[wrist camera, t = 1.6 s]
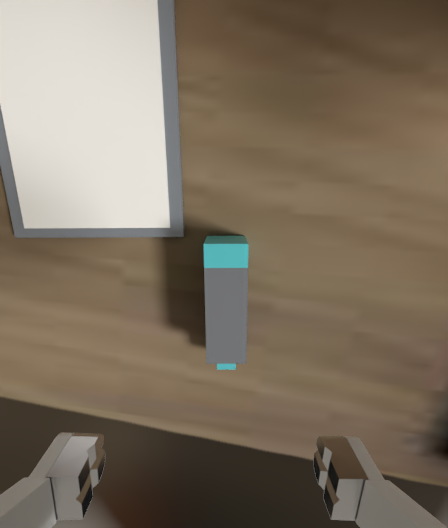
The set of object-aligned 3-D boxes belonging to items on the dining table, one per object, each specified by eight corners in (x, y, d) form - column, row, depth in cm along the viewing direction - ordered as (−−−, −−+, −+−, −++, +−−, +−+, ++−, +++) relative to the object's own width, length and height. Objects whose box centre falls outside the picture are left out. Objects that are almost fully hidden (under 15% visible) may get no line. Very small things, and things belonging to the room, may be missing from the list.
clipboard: (171, -69, 20) (166, -92, 18) (184, 236, 25) (181, 238, 24) (-41, -67, 20) (-64, -90, 18) (19, 236, 25) (6, 239, 24)
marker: (207, 235, 25) (203, 243, 21) (244, 235, 25) (248, 243, 21) (209, 350, 28) (206, 378, 24) (242, 350, 28) (245, 378, 24)
